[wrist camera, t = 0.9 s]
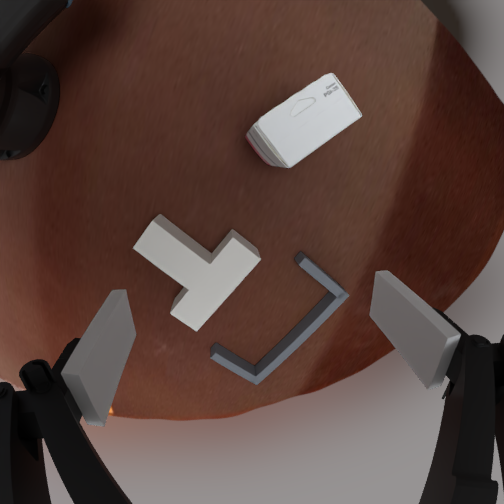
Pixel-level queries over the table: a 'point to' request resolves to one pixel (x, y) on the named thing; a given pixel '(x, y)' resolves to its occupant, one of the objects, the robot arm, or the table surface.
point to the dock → (294, 336)
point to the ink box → (303, 122)
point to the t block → (197, 267)
